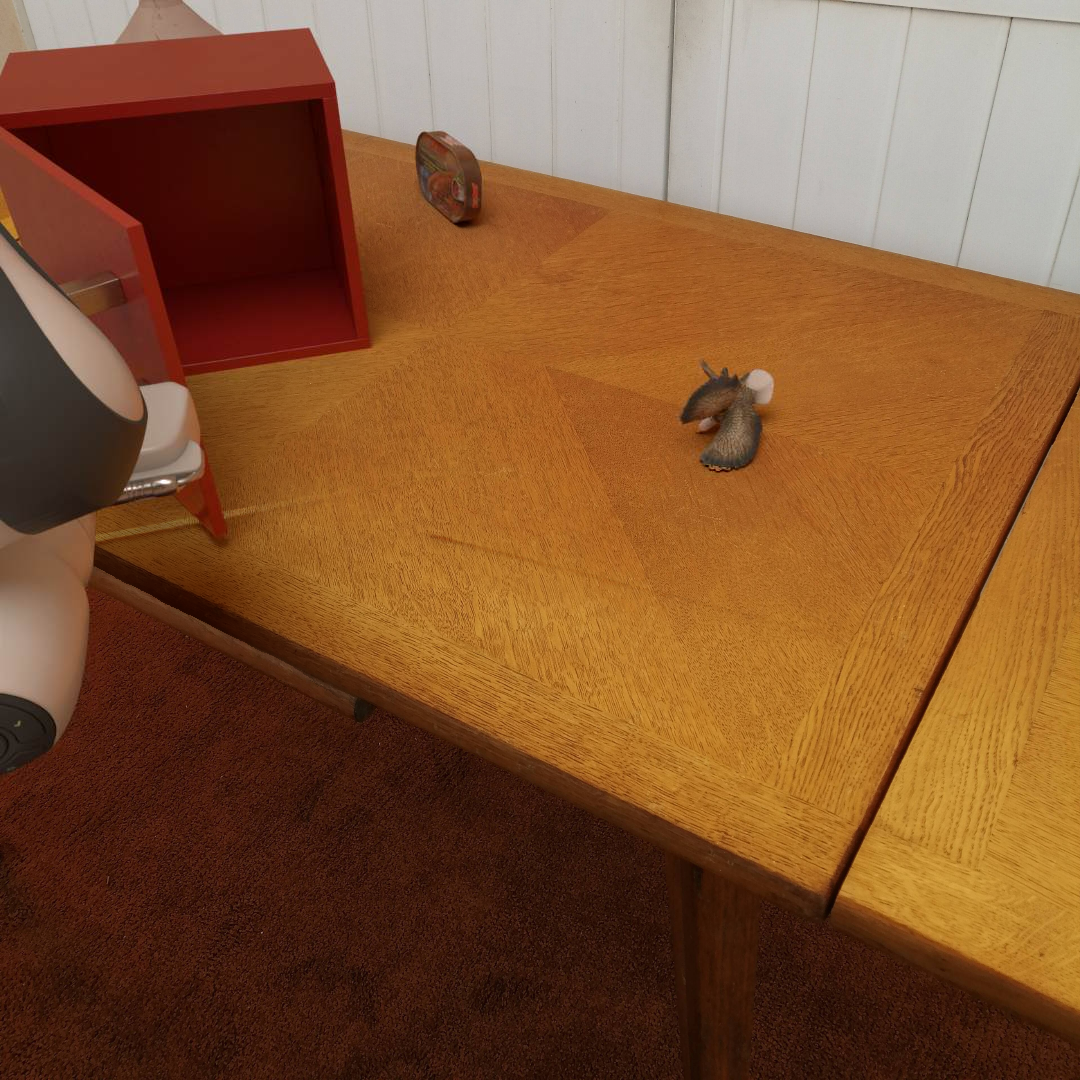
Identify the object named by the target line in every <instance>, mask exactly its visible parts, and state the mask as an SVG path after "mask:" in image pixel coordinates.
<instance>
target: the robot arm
mask: <svg viewBox="0 0 1080 1080" xmlns="http://www.w3.org/2000/svg"><path fill="white" fill-rule="evenodd" d="M200 434H201V427H200V422H199V417H198V414H197V410H196V406H195V403H194V400H193V397H192V394H191V391H190V389H189V388H188V389H187V388H186V387H184V386H182V385H180V384H178V383H175V382H165V383H159V384H153V385H146V386H140V387H139V386H138V384H137V382H136V381H135V378H134V376H133V374H132V372H131V371H130V369H129V367H128V365H127V364H126V362H125V361H124V359H123V358H122V356H121V355H120V354H119V352H118V351H117V350H116V348H115V347H114V346H113V344H112V343H111V342H110V341H109V340H108V338H107V337H106V336H105V335H104V334H103V333H102V332H101V331H100V330H99V329H98V328H97V327H96V326H95V325H94V324H93V323H92V322H91V321H90V320H89V318H88V317H87V316H86V315H85V314H84V313H83V312H82V311H81V310H80V309H79V308H78V307H77V305H76V304H75V303H74V302H73V301H72V300H71V299H70V298H69V297H68V296H67V295H66V294H65V293H64V292H63V291H62V290H61V289H60V288H59V287H58V285H57V284H56V283H55V282H54V281H53V280H52V279H51V278H50V277H49V276H48V275H47V274H46V273H45V272H44V271H43V270H42V269H41V268H40V267H39V266H38V265H37V263H36V262H35V261H34V260H33V259H32V258H31V257H30V256H29V255H28V254H27V252H26V251H25V250H24V249H23V248H22V245H21V243H20V242H18V240H17V239H16V238H15V237H14V236H13V235H12V234H11V233H10V232H9V230H8V229H7V228H6V227H5V225H4V224H3V223H2V221H0V777H2V776H4V775H8V774H9V773H11V772H14V771H16V770H19V769H20V768H22V767H24V766H26V765H28V764H30V763H32V762H33V761H35V760H37V759H38V758H39V759H40V757H42V756H44V755H45V754H47V753H48V752H50V750H51V749H52V748H54V746H55V745H56V744H57V742H58V741H59V740H60V739H61V737H62V735H64V732H65V731H66V729H67V727H68V726H69V723H70V721H71V719H72V717H73V714H74V711H75V709H76V706H77V703H78V700H79V697H80V696H79V695H80V691H81V688H82V683H83V677H84V671H85V667H86V660H87V659H86V658H87V652H88V642H89V631H90V616H91V615H90V611H91V610H90V603H89V598H88V595H87V591H86V589H87V586H88V584H89V581H90V580H91V576H92V572H93V568H94V559H95V557H94V556H95V545H96V544H95V542H96V530H97V529H96V528H97V514H98V511H100V510H103V509H107V508H111V507H117V506H122V505H128V504H133V503H139V502H144V501H149V500H155V499H160V498H164V497H170V496H172V495H173V494H175V493H178V492H179V490H181V489H182V488H184V487H185V486H186V485H187V484H189V483H191V482H193V481H194V480H198V479H200V478H201V477H202V476H203V474H204V468H205V459H204V451H203V449H202V448H201V447H200ZM173 496H174V495H173Z"/></svg>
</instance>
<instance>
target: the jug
mask: <svg viewBox="0 0 1080 1080" xmlns="http://www.w3.org/2000/svg"><path fill="white" fill-rule="evenodd" d="M217 35H225V34H224V33H222V32H221V31H220V30H219V29H217V28H216V27H214V25H212V24H210V23H209V22H208V21H206V20H205V19H204V18H203V17H201V15H199V14H198V13H197V12H196V11H195V10H194V9H193V8H192V7H190V6H189V5H188V4H187V3H186V2H185V1H183V0H138V5H137V7H136V9H135V11H134V12H133V14H132V15H131V18H130V20H129V22H127V24H126V27H125V28H124V30H123V31H122V32H121V33H120V35H119V37H118V38H117V39H116V40H115V42H114V44H122V43H134V42H145V41H157V40H169V39H181V38H193V37H205V36H217Z"/></svg>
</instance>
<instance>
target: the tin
mask: <svg viewBox="0 0 1080 1080" xmlns="http://www.w3.org/2000/svg"><path fill="white" fill-rule="evenodd" d="M414 153H415V156H414V160H415V170H416V175H417V179H418V184H419V186H420V190H421V193H422V195H423V197H424V198H425V200H426V201H427V202H428V204H430V205H431V206H433V208H435V209H436V210H437V211H438V212H440V214H442V215H443V216H444V217H446V218H447V219H448V220H449V221H450V222H451V223H454V224H458V223H460V222H466V221H467V222H468V221H473V220H476V218H478V216H479V215H480V213H481V211H482V208H483V207H482V199H483V198H482V197H483V187H482V183H483V178H482V177H483V176H482V172H481V168H480V163H479V161H478V159H477V158H476V155H475V154H474V152H473V151H472V150H471V149H470V148H468V147H467V146H466V145H464V144H463V143H461V142H460V141H458V139H455V137H453V136H451V135H450V134H449V133H447V132H446V131H443V130H435V131H425V130H424V131H422V132H420V134H419V135H418V136H417V140H416V144H415V152H414Z"/></svg>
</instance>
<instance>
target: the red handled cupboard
mask: <svg viewBox="0 0 1080 1080" xmlns="http://www.w3.org/2000/svg"><path fill="white" fill-rule="evenodd" d="M0 190H1V193H2V196H3V198H4V201H5V204H6V206H7V210H8V212H9V215H10V217H11V221H12V223H13V225H14V229H15V232H16V235H17V237H18V239H19V243H20V246H21V247H22V248H23V249H24V250H25V251H26V252H27V254H28V255H29V256H30V257H31V258H32V259H33V260H34V261H35V262H36V263H37V265H38V266H39V267H40V268H41V269H42V270H43V271H44V272H45V273H46V274H47V275H48V276H49V277H50V278H51V279H52V280H53V281H54V282H55V283H56V284H57V285H58V287H59V288H60V289H61V290H62V291H63V292H64V293H65V294H66V295H67V296H68V297H69V298H70V299H71V300H72V301H73V302H74V303H75V304H76V305H77V307H78V308H79V309H80V310H81V311H82V312H83V313H84V314H85V315H86V316H87V317H88V318H89V320H90V321H91V322H92V323H93V324H94V325H95V326H96V327H97V328H98V329H99V330H100V331H101V332H102V333H103V334H104V335H105V336H106V337H107V338H108V340H109V341H110V342H111V343H112V344H113V346H114V347H115V348H116V350H117V351H118V352H119V354H120V355H121V356H122V358H123V359H124V361H125V362H126V364H127V365H128V367H129V369H130V371H131V372H132V374H133V376H134V378H135V381H136V382H137V384H138V386H139V387H140V386H146V385H153V384H159V383H165V382H175V383H178V384H180V385H182V386H184V387H186V388H187V389H188V390H189V387H188V384H187V380H186V376H184V373H183V369H182V366H181V362H180V359H179V355H178V351H177V348H176V344H175V341H174V337H173V333H172V330H171V326H170V323H169V319H168V315H167V312H166V308H165V305H164V301H163V297H162V294H161V290H160V287H159V283H158V280H157V276H156V272H155V269H154V265H153V262H152V258H151V254H150V251H149V247H148V244H147V240H146V236H145V233H144V229H143V226H142V223H140V222H139V221H137V220H136V219H134V218H133V217H131V216H130V215H129V214H127V213H126V212H124V211H123V210H121V209H120V208H118V207H117V206H115V205H114V204H113V203H111V202H110V201H108V200H107V199H105V198H104V197H102V196H101V195H99V194H98V193H97V192H95V191H94V190H92V189H91V188H89V187H88V186H86V185H85V184H83V183H82V182H81V181H79V180H78V179H76V178H75V177H73V176H72V175H70V174H69V173H67V172H66V171H65V170H63V169H62V168H60V167H59V166H57V165H56V164H54V163H53V162H51V161H50V160H49V159H47V158H46V157H44V156H43V155H41V154H40V153H38V152H37V151H36V150H34V149H33V148H31V147H30V146H28V145H27V144H25V143H24V142H22V141H21V140H20V139H18V138H17V137H15V136H14V135H12V134H11V133H9V132H8V131H6V130H5V129H4V128H2V127H1V126H0ZM200 447H201V448H202V449H203V451H204V459H205V468H204V474H203V476H202V477H201V478H200V479H198V480H194V481H193V482H191V483H189V484H187V485H186V486H185V487H184V488H182V489H181V490H179V492H178V493H175V494H173V496H174V497H175V498H176V499H177V500H178V501H179V502H180V503H181V504H182V505H183V506H184V507H185V509H187V510H188V511H189V512H190V513H191V514H192V515H193V516H194V517H195V518H196V519H197V520H198V521H199V523H201V524H202V525H203V527H205V528H206V529H207V531H209V533H211V534H212V535H213V537H215V538H218V537H220V536H223V535H225V534H228V528H227V525H226V520H225V517H224V513H223V510H222V506H221V503H220V499H219V496H218V492H217V488H216V485H215V481H214V478H213V477H214V476H213V474H212V470H211V466H210V463H209V459H208V456H207V452H206V448H205V445H204V441H203V437H202V434H201V433H200Z"/></svg>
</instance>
